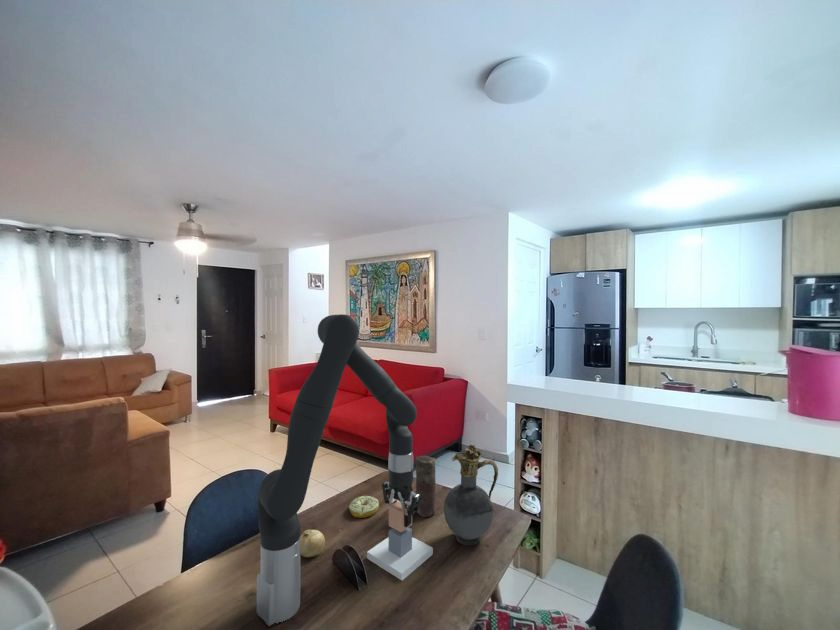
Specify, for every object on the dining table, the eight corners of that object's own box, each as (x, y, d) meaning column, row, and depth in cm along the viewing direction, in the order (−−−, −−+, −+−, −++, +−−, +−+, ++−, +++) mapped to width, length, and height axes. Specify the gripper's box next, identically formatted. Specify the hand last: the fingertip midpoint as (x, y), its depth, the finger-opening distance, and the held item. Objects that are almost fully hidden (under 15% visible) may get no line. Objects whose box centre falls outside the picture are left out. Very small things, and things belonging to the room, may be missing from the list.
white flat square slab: (402, 580, 99) (402, 573, 99) (366, 558, 108) (367, 551, 108) (432, 554, 110) (432, 547, 110) (398, 536, 118) (398, 530, 118)
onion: (312, 541, 116) (312, 519, 115) (330, 550, 111) (330, 527, 111) (291, 555, 109) (292, 532, 109) (310, 565, 105) (310, 541, 105)
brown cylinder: (412, 509, 135) (412, 455, 135) (430, 504, 138) (430, 452, 138) (421, 519, 128) (421, 463, 128) (439, 514, 131) (439, 459, 131)
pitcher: (439, 534, 119) (439, 444, 119) (487, 521, 127) (488, 436, 127) (454, 555, 109) (455, 456, 109) (506, 540, 117) (507, 447, 117)
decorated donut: (343, 512, 133) (343, 502, 133) (365, 500, 141) (365, 491, 141) (362, 523, 126) (362, 512, 126) (384, 510, 134) (384, 500, 134)
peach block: (401, 532, 105) (401, 511, 105) (388, 525, 108) (388, 505, 108) (412, 524, 109) (412, 504, 109) (399, 518, 112) (400, 499, 112)
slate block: (400, 557, 105) (401, 537, 105) (388, 550, 108) (388, 530, 108) (411, 549, 109) (412, 529, 109) (399, 542, 112) (399, 523, 112)
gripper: (375, 463, 110) (374, 519, 110) (410, 477, 101) (410, 537, 101) (392, 456, 116) (391, 508, 116) (427, 468, 107) (426, 525, 107)
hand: (400, 522), depth 109 cm, fingers closed on peach block, 5 cm apart
